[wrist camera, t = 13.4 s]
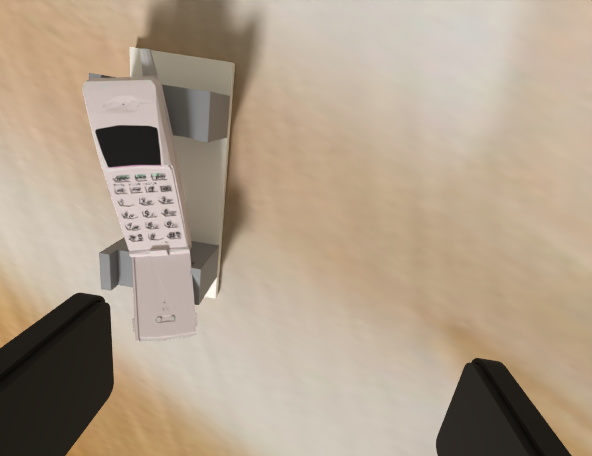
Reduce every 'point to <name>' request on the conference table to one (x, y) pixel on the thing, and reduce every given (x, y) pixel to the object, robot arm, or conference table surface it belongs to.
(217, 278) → the cradle stand
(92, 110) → the mobile phone
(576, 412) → the conference table surface
